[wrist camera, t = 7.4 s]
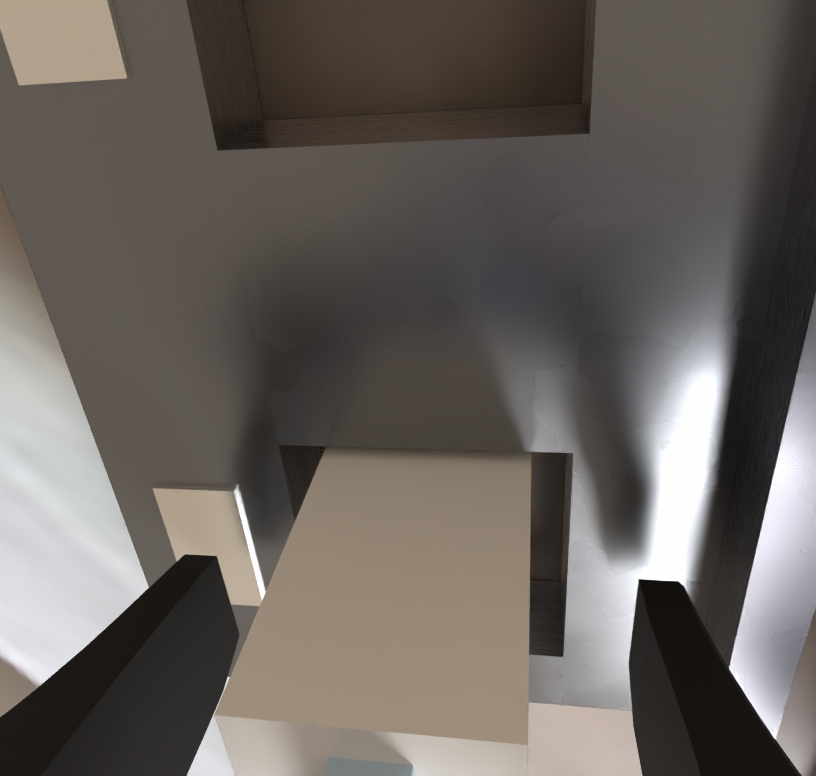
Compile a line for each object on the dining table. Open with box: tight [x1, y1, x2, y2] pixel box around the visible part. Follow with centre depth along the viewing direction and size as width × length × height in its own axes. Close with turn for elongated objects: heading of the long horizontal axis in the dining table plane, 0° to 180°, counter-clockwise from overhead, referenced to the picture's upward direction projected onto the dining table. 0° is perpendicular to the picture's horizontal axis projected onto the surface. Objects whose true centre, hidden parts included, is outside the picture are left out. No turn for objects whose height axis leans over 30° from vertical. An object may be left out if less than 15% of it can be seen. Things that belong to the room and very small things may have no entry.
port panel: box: [0, 0, 816, 740], centre depth 11 cm, size 12×18×4 cm, turn 5°
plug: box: [214, 446, 531, 776], centre depth 12 cm, size 4×4×8 cm
